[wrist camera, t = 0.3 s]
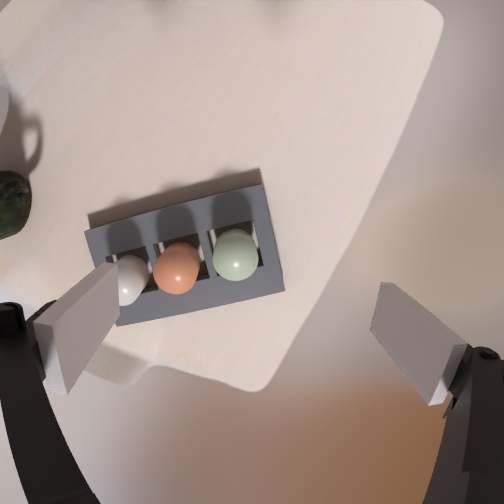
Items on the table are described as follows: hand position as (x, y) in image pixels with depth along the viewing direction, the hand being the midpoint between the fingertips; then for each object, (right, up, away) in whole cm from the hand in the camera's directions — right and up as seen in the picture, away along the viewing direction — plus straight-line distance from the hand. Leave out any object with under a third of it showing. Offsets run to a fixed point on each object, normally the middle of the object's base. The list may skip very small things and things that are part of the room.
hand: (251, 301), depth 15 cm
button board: (-9, +2, +27) cm, 29 cm away
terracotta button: (-9, +1, +25) cm, 27 cm away
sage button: (-2, +3, +25) cm, 25 cm away
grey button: (-16, 0, +25) cm, 30 cm away
